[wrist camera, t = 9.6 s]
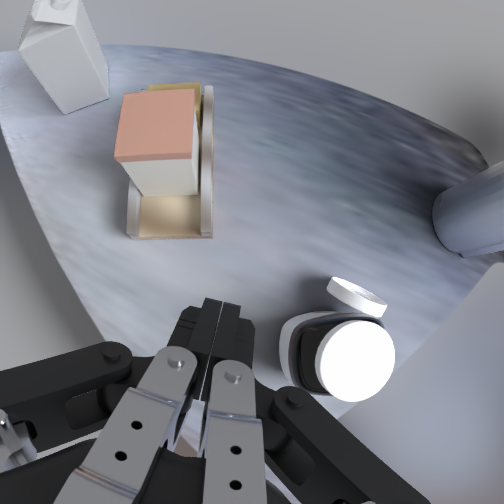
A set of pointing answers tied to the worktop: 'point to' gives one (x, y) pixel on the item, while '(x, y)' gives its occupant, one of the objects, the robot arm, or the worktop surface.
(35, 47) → the milk carton
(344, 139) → the worktop surface
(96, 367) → the robot arm
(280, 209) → the worktop surface
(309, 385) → the spread jar
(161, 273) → the worktop surface
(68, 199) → the worktop surface
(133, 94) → the pink-topped white box
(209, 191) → the track
